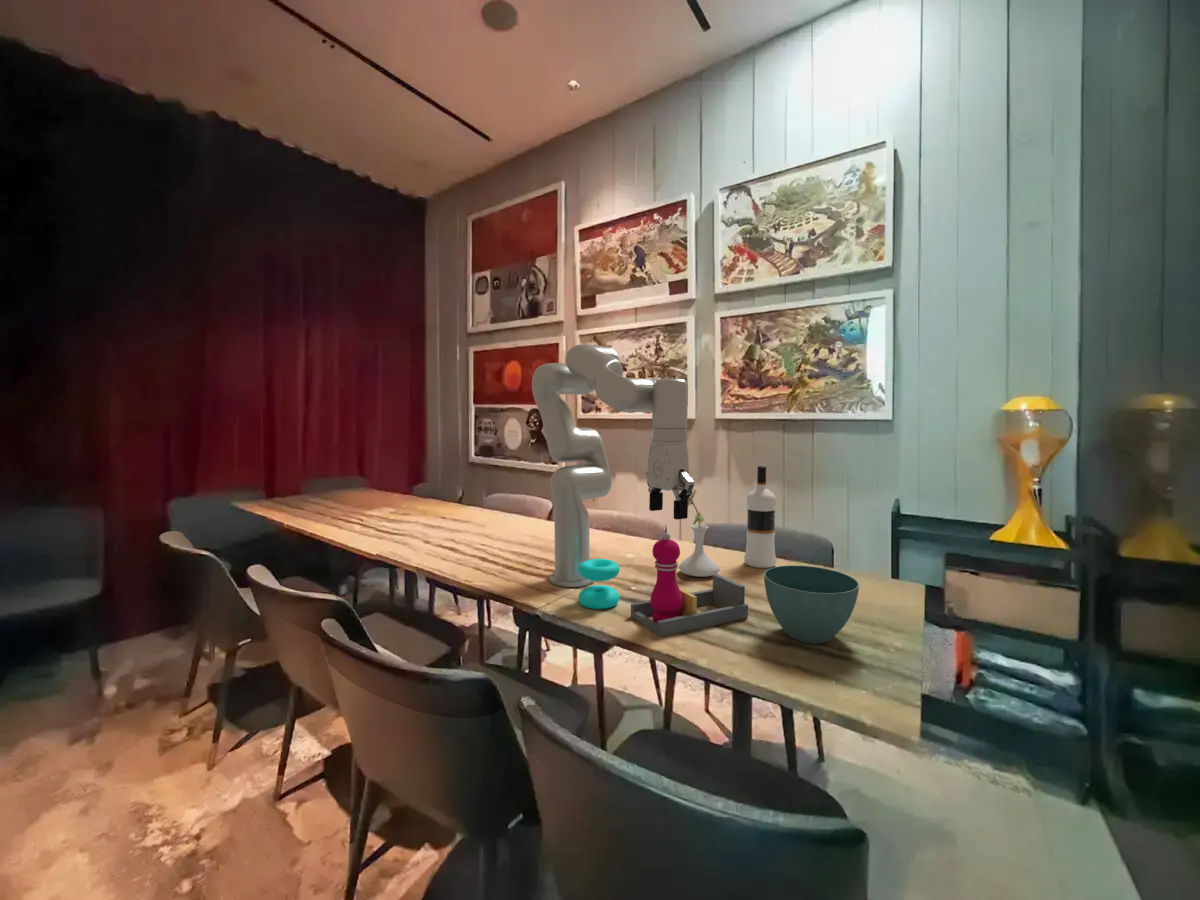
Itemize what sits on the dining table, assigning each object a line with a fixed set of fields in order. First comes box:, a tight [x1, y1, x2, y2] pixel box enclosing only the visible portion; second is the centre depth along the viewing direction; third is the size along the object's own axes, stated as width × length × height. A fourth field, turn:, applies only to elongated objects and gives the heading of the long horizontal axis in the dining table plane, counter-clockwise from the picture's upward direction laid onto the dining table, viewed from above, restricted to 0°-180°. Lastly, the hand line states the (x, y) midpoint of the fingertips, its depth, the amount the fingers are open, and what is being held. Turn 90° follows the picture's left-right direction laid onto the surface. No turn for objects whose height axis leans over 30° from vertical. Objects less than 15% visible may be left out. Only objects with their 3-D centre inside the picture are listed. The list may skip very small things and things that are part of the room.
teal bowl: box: [763, 564, 860, 645], centre depth 112 cm, size 18×18×12 cm
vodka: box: [743, 465, 777, 569], centre depth 162 cm, size 9×9×30 cm
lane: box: [630, 573, 749, 638], centre depth 122 cm, size 12×23×7 cm, turn 116°
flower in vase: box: [678, 488, 720, 578], centre depth 152 cm, size 13×11×25 cm
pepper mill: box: [650, 532, 683, 623], centre depth 118 cm, size 7×7×20 cm
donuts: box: [577, 558, 621, 610], centre depth 131 cm, size 10×10×10 cm
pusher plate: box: [679, 587, 698, 616], centre depth 121 cm, size 9×1×6 cm, turn 26°
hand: (667, 514), depth 118 cm, fingers open, 9 cm apart
